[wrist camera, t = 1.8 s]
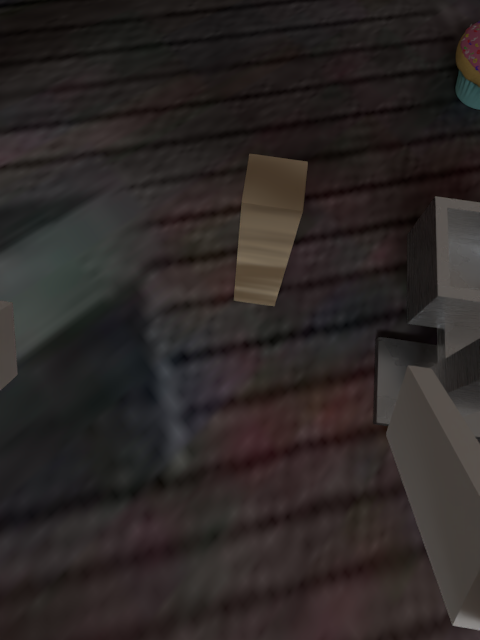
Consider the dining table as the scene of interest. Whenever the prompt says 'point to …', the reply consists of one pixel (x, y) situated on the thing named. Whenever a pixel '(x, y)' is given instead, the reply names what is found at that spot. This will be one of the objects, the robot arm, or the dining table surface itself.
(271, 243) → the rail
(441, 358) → the bracket
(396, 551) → the dining table surface
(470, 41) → the cupcake
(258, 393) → the dining table surface
